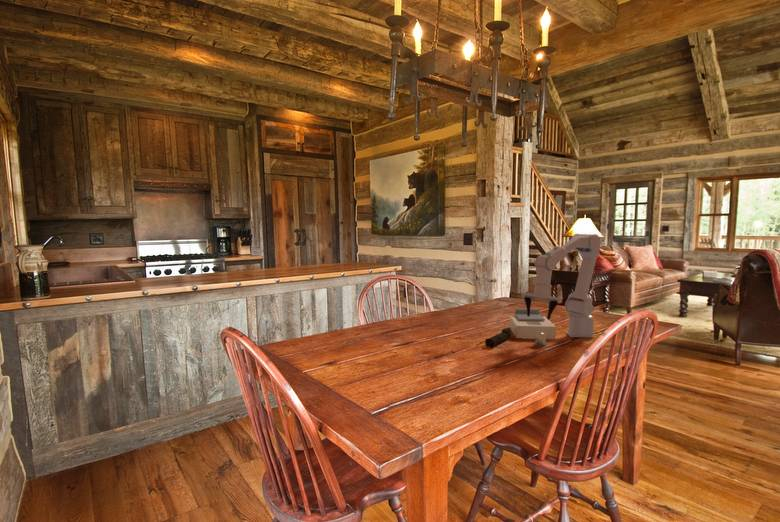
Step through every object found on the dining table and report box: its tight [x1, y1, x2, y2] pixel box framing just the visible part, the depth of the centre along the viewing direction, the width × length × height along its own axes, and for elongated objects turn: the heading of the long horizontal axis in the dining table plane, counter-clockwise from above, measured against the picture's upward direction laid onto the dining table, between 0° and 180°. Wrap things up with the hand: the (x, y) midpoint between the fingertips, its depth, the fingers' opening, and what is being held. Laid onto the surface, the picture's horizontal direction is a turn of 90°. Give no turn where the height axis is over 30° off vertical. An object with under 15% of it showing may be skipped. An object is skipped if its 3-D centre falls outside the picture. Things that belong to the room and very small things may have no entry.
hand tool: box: [484, 327, 512, 349], centre depth 165 cm, size 19×4×5 cm, turn 135°
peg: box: [534, 331, 547, 347], centre depth 161 cm, size 4×4×5 cm
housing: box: [509, 315, 557, 340], centre depth 178 cm, size 16×18×6 cm
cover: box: [514, 308, 545, 321], centre depth 182 cm, size 11×11×3 cm
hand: (538, 317), depth 162 cm, fingers open, 7 cm apart
